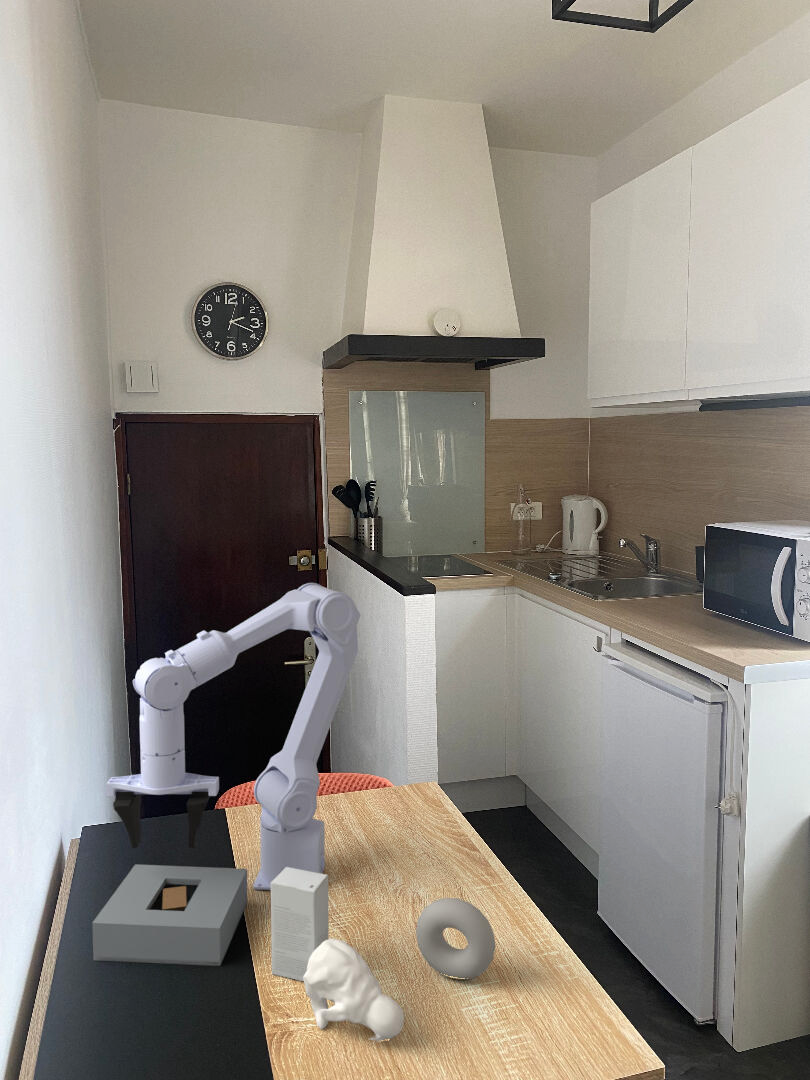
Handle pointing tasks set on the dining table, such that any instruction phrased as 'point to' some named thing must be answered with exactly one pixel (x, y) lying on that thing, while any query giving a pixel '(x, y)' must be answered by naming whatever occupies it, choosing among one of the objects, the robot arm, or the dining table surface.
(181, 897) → the brown wooden block
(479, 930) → the donut
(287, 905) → the skincare box
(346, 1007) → the white animal sculpture
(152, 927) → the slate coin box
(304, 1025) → the dining table surface
